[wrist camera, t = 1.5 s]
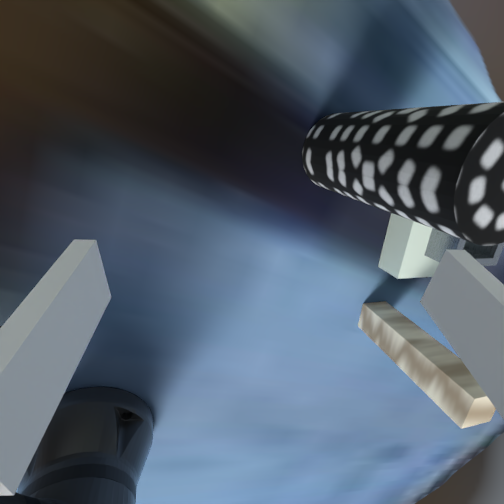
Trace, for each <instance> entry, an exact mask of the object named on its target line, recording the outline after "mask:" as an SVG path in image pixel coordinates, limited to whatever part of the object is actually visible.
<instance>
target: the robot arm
mask: <svg viewBox="0 0 504 504" xmlns="http://www.w3.org/2000/svg"><path fill="white" fill-rule="evenodd" d="M110 299H111V294H110V290H109V286H108V282H107V279H106V275H105V271H104V267H103V264H102V260H101V256H100V252H99V249H98V245H97V241H96V240H80V239H74V240H73V241H72V242H71V244H70V245H69V246H68V247H67V248H66V250H65V251H64V252H63V253H62V254H61V256H60V257H59V258H58V259H57V260H56V262H55V263H54V264H53V265H52V267H51V268H50V269H49V270H48V271H47V273H46V274H45V275H44V276H43V277H42V279H41V280H40V281H39V282H38V283H37V285H36V286H35V287H34V288H33V289H32V291H31V292H30V293H29V294H28V296H27V297H26V298H25V299H24V300H23V302H22V303H21V304H20V305H19V306H18V308H17V309H16V310H15V311H14V312H13V314H12V315H11V316H10V317H9V318H8V320H7V321H6V322H5V323H4V325H3V326H0V504H135V501H136V487H137V483H138V481H139V478H140V475H141V472H142V470H143V467H144V464H145V461H146V459H147V456H148V453H149V450H150V448H151V444H152V439H153V417H152V413H151V411H150V409H149V407H148V406H147V405H146V404H145V403H144V402H143V401H142V400H141V399H140V398H139V397H137V396H135V395H133V394H132V393H129V392H127V391H124V390H120V389H116V388H108V387H91V388H84V389H79V390H74V391H71V392H68V393H65V391H66V389H67V387H68V385H69V383H70V380H71V378H72V376H73V374H74V372H75V370H76V368H77V366H78V364H79V362H80V360H81V358H82V356H83V354H84V352H85V350H86V348H87V346H88V344H89V342H90V340H91V338H92V336H93V334H94V332H95V330H96V328H97V326H98V324H99V322H100V319H101V317H102V315H103V313H104V311H105V309H106V307H107V305H108V303H109V301H110ZM420 302H421V304H422V305H423V307H424V308H425V309H426V311H427V312H428V314H429V315H430V317H431V318H432V319H433V321H434V322H435V324H436V325H437V326H438V328H439V329H440V331H441V332H442V333H443V335H444V336H445V338H446V339H447V340H448V342H449V343H450V345H451V346H452V348H453V349H454V350H455V352H456V353H457V355H458V356H459V357H460V359H461V360H462V362H463V363H464V364H465V366H466V367H467V369H468V370H469V371H470V373H471V374H472V376H473V377H474V379H475V380H476V381H477V383H478V384H479V386H480V387H481V388H482V390H483V391H484V393H485V394H486V395H487V397H488V398H489V400H490V401H491V402H492V404H493V405H494V407H495V408H496V409H497V411H498V412H499V414H500V415H501V417H502V418H503V419H504V285H503V284H502V283H501V282H500V281H499V280H498V279H497V278H495V277H494V276H493V275H492V274H491V273H490V272H489V271H488V270H487V269H485V268H484V267H483V266H482V265H481V264H480V263H479V262H478V261H477V260H476V259H474V258H473V257H472V256H471V255H470V254H469V253H468V252H467V251H466V250H448V249H446V251H445V253H444V255H443V257H442V259H441V261H440V263H439V265H438V267H437V269H436V271H435V273H434V275H433V277H432V279H431V281H430V283H429V285H428V287H427V289H426V291H425V293H424V295H423V297H422V299H421V301H420ZM64 393H65V394H64ZM17 488H18V493H16V490H17Z"/></svg>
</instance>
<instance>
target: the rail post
mask: <svg viewBox="0 0 504 504" xmlns="http://www.w3.org/2000/svg"><path fill="white" fill-rule="evenodd" d="M358 327H359V328H360V329H361V330H362V331H363V332H364V333H365V334H366V335H367V336H368V337H369V338H370V339H371V340H372V341H373V342H374V343H375V344H377V345H378V346H379V347H380V348H381V349H382V350H383V351H384V352H385V353H386V354H387V355H388V356H389V357H390V358H391V359H392V360H393V361H394V362H395V363H396V364H397V365H398V366H399V367H400V368H401V369H402V370H403V371H404V372H405V373H406V374H407V375H408V376H409V377H410V378H411V379H412V380H413V381H414V382H415V383H416V384H417V385H418V386H419V387H420V388H421V389H422V390H423V391H424V392H425V393H426V394H427V395H428V396H429V397H430V398H431V399H432V400H433V401H434V402H435V403H436V404H437V405H438V406H439V407H440V408H441V409H442V410H443V411H444V412H445V413H446V414H447V415H448V416H449V417H450V418H451V419H452V420H453V421H454V422H455V423H456V424H457V425H458V426H459V427H460V428H461V429H462V428H466V427H470V426H473V425H477V424H481V423H485V422H489V421H490V420H491V418H492V416H493V414H494V412H495V410H496V408H495V407H494V405H493V404H492V402H491V401H490V400H489V398H488V397H487V395H486V394H485V393H484V391H483V390H482V388H481V387H480V386H479V384H478V383H477V381H476V380H475V379H474V377H473V376H472V374H471V373H470V371H469V370H468V369H467V367H466V366H465V364H464V363H463V362H462V360H461V359H460V358H459V357H458V356H456V355H455V354H454V353H452V352H451V351H450V350H448V349H447V348H446V347H444V346H443V345H442V344H441V343H439V342H438V341H437V340H435V339H434V338H433V337H431V336H430V335H429V334H428V333H426V332H425V331H424V330H422V329H421V328H420V327H418V326H417V325H416V324H414V323H413V322H412V321H411V320H409V319H408V318H407V317H405V316H404V315H403V314H401V313H400V312H399V311H398V310H396V309H395V308H394V307H392V306H391V305H390V304H388V303H387V302H386V301H383V302H373V303H363V307H362V311H361V315H360V319H359V323H358Z"/></svg>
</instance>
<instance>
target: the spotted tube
mask: <svg viewBox="0 0 504 504" xmlns="http://www.w3.org/2000/svg"><path fill="white" fill-rule="evenodd" d="M302 159H303V165H304V169H305V171H306V174H307V175H308V177H309V178H310V179H311V180H312V181H313V182H314V183H315V184H317V185H319V186H320V187H323V188H326V189H329V190H331V191H334V192H337V193H339V194H342V195H345V196H347V197H350V198H353V199H355V200H358V201H361V202H363V203H366V204H369V205H372V206H374V207H377V208H380V209H382V210H385V211H388V212H390V213H393V214H396V215H398V216H401V217H404V218H406V219H409V220H412V221H415V222H417V223H420V224H423V225H425V226H428V227H431V228H433V229H436V230H439V231H441V232H444V233H447V234H449V235H452V236H455V237H458V238H460V239H463V240H466V241H468V242H471V243H474V244H477V245H481V246H492V245H496V244H500V243H503V242H504V102H495V103H480V104H465V105H451V106H436V107H421V108H406V109H391V110H377V111H362V112H347V113H335V114H330V115H328V116H325V117H324V118H322V119H320V120H319V121H318V122H317V123H316V124H315V125H314V126H313V127H312V128H311V130H310V131H309V133H308V135H307V137H306V139H305V142H304V145H303V152H302Z"/></svg>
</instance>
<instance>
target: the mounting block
mask: <svg viewBox="0 0 504 504" xmlns="http://www.w3.org/2000/svg"><path fill="white" fill-rule="evenodd" d="M431 231H432V228H431V227H428V226H425V225H423V224H420V223H417V222H415V221H412V220H409V219H406V218H404V217H401V216H398V215H396V214H393V213H391V216H390V220H389V224H388V228H387V233H386V237H385V241H384V245H383V249H382V253H381V257H380V261H379V265H378V267H380V268H381V269H383V270H384V271H386V272H388V273H389V274H391V275H392V276H394V277H395V278H397V279H403V278H418V277H433V275H434V273H435V271H436V269H437V267H438V265H439V262H437V261H435V260H433V259H431V258H429V257H427V256H425V255H424V254H425V251H426V248H427V244H428V241H429V238H430V234H431ZM465 244H466V242H465ZM464 247H465V245H464Z"/></svg>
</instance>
